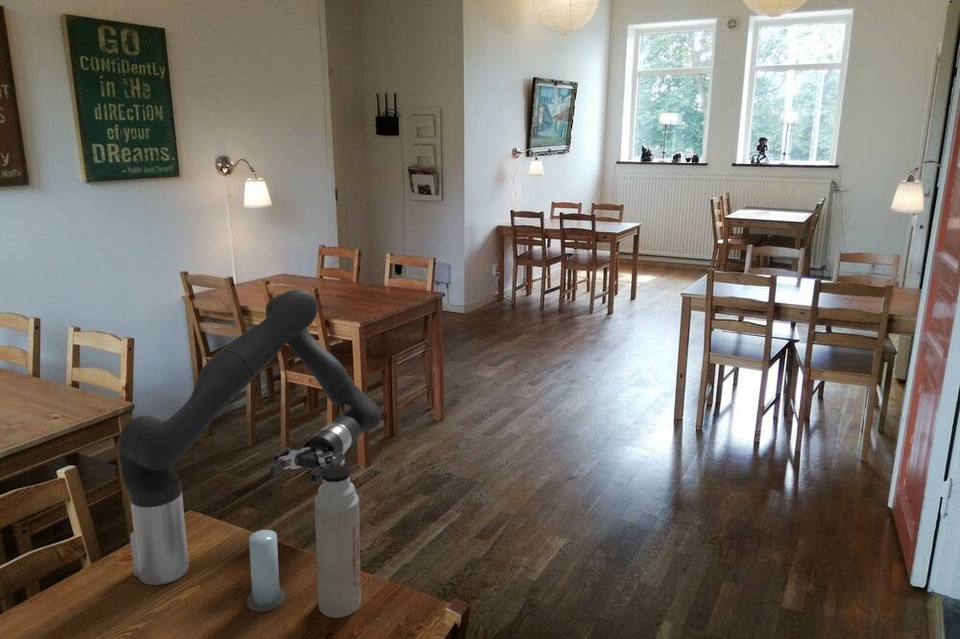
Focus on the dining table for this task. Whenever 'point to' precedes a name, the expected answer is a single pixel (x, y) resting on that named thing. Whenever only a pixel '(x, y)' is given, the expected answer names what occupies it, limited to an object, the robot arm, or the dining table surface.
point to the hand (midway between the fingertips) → (291, 475)
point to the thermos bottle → (337, 544)
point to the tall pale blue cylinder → (264, 567)
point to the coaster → (265, 608)
